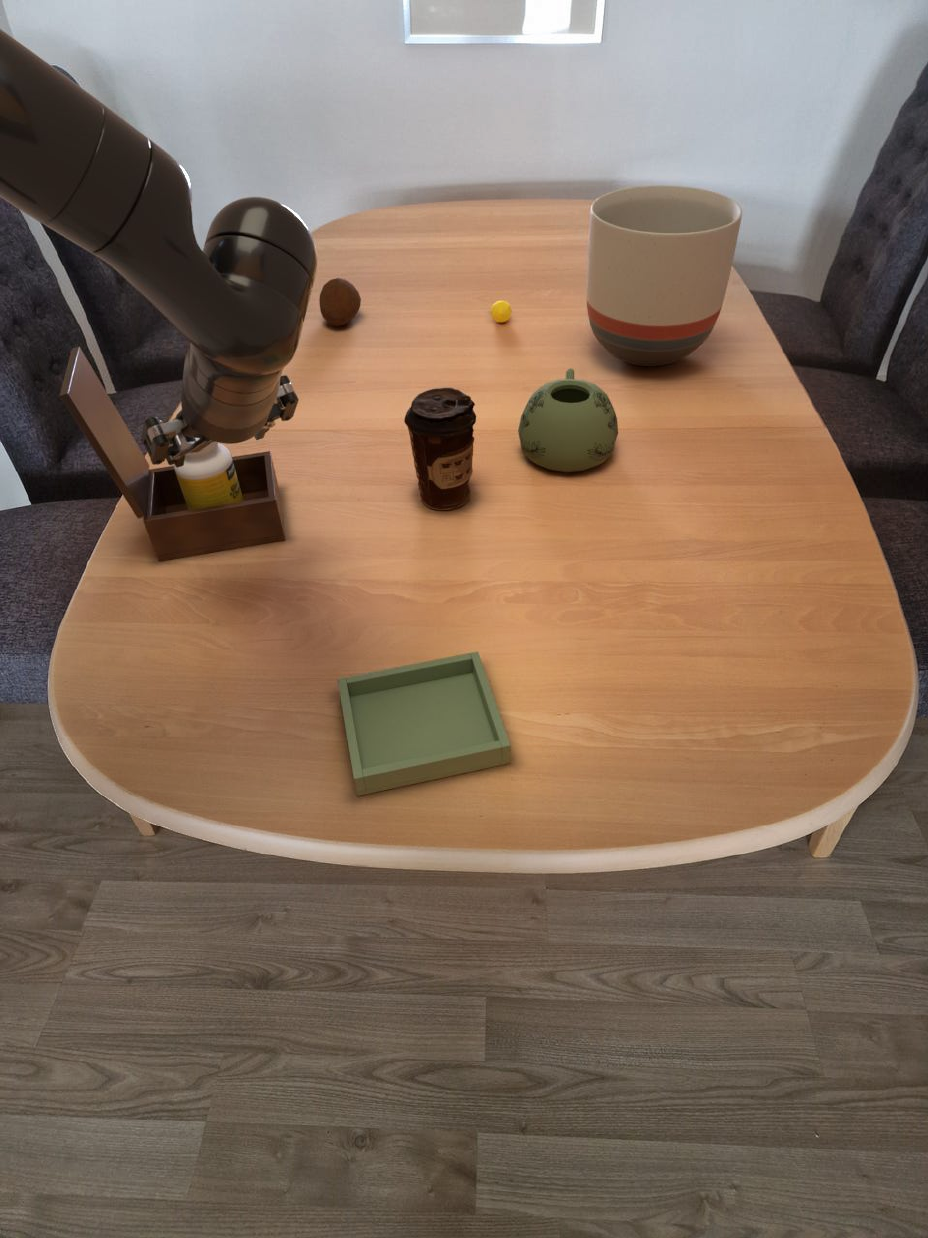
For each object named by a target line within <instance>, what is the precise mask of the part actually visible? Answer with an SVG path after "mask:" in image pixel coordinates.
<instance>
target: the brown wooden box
mask: <svg viewBox="0 0 928 1238" xmlns="http://www.w3.org/2000/svg"><path fill="white" fill-rule="evenodd" d="M232 460H233V464H234V467H235V471H236V475H237V478H238V482H239V486H240V489H241V493H242V496H243V500H244V501H242V502H236V503H230V504H223V505H217V506H211V507H205V508H199V509H192V510H188V507H187V504H186V501H185V498H184V496H183V493H182V490H181V487H180V484H179V481H178V478H177V475H176V472H175V469H174V465H169V466H163V467H158V468H149V475H148V487H147V499H146V511H145V517H142V519H143V521H142V522H143V524H144V527H145V530H146V532H147V535H148V537H149V540H150V543H151V545H152V548H153V551H154V553H155V556H156V559H157V561H158V562H163V561H170V560H176V559H181V558H187V557H192V556H199V555H205V554H210V553H216V552H222V551H223V552H224V551H228V550H235V549H240V548H246V547H253V546H258V545H265V544H270V543H274V542H275V543H276V542H281V541H282V542H283V541H286V532H285V524H284V517H283V508H282V507H283V506H282V500H281V491H280V487H279V482H278V478H277V473H276V469H275V464H274V461H273V456H272V452H271V450H268V451H263V452H262V451H260V452H256V453H255V452H254V453H249V454H242V455H235V456H232Z"/></svg>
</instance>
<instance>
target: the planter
mask: <svg viewBox="0 0 928 1238" xmlns="http://www.w3.org/2000/svg"><path fill="white" fill-rule="evenodd" d="M742 218H743V209H742V207H741V205H740V204H739V203H738V202H737V201H736V200H734V199H733V198H731V197H728V196H726V195H725V194H721V193H719V192H715V191H713V190H708V189H704V188H698V187H692V186H681V185H664V184H663V185H662V184H661V185H641V186H633V187H631V186H630V187H626V188H621V189H617V190H613V191H610V192H608V193H605V194H602V195H601V196H599V197H598V198H596V199H595V200H594V201H593V202H592V203H591V206H590V213H589V227H588V241H587V243H588V244H587V258H586V259H587V261H586V293H585V294H586V298H585V299H586V311H587V317H588V321H589V325H590V328H591V331H592V333H593V335H594V337H595V338H596V340H597V341H598V342H599V344H600V345H601V346H602V347H603V348H604V349H605V350H606V351H608V353H610V354H611V355H612V356H614V357H615V358H617V359H619V360H620V361H623V362H625V363H628V364H632V365H636V366H642V367H658V366H664V365H669V364H673V363H675V362H677V361H681V360H682V359H683V358H685V357H687V356H689V355H690V354H692V353H693V352H695V351H696V350H698V348H699V347H700V346H702V345H703V344H704V343H705V341H706V340H707V339H708V338H709V336H710V334H711V333H712V332H713V330H714V328H715V326H716V324H717V321H718V320H719V317H720V315H721V311H722V308H723V304H724V301H725V296H726V293H727V288H728V283H729V280H730V276H731V271H732V266H733V262H734V257H735V253H736V247H737V243H738V238H739V232H740V227H741V222H742Z"/></svg>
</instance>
